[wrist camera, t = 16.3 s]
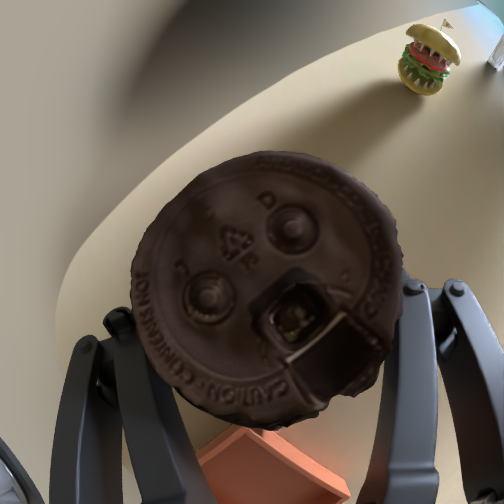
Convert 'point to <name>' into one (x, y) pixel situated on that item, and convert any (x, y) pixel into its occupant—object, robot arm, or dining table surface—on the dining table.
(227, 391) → the labeled brown jar
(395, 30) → the dining table surface
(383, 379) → the robot arm
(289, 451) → the terracotta tray
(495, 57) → the stool
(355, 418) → the dining table surface
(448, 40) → the hamburger
